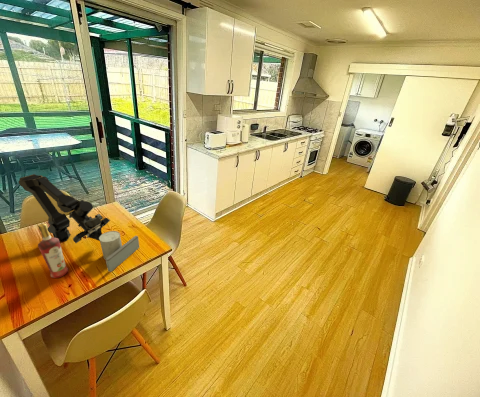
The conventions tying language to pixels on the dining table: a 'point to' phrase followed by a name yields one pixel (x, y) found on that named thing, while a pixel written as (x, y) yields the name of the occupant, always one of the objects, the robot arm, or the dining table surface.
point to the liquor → (52, 253)
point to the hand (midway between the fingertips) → (103, 241)
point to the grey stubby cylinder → (110, 243)
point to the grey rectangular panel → (122, 253)
